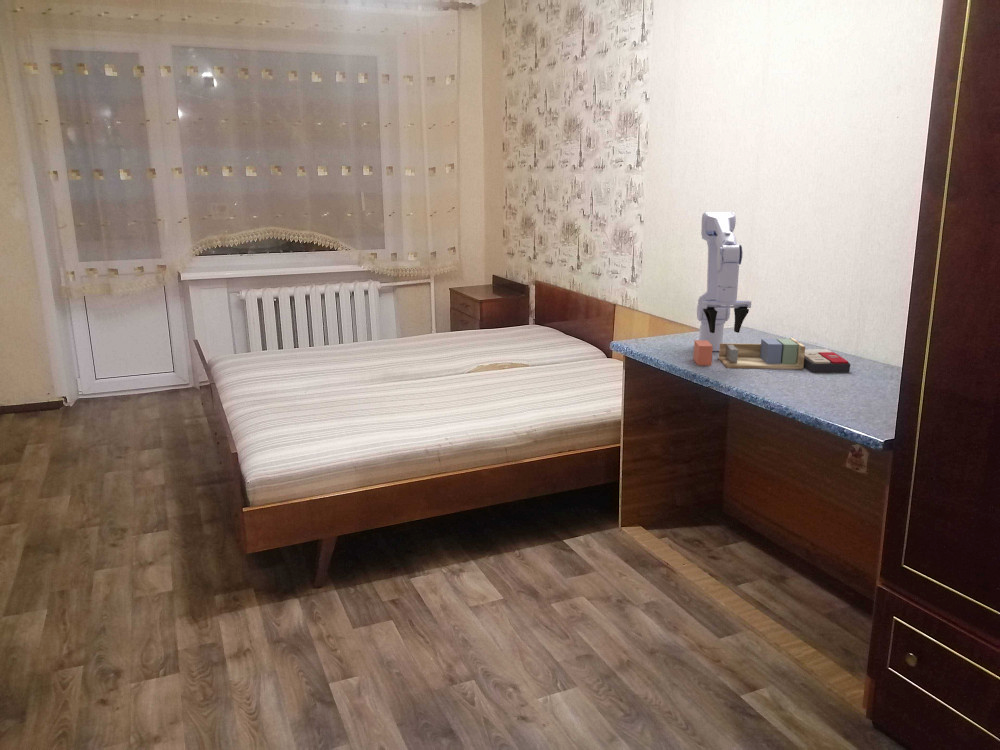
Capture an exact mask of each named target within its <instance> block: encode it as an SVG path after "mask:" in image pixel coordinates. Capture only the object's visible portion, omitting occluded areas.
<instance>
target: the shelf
mask: <svg viewBox="0 0 1000 750" xmlns="http://www.w3.org/2000/svg"><path fill="white" fill-rule="evenodd" d="M789 339H791V340H792V341H794V342H795V343H796V344H798V349H797V359H796V364H766V363H765V362H764V361H763V360H762V359H761V358H760V350H761V343H734V342H733V343H732V342H731V343H728V342H727V343H726V342H723V343H720V349H719V351H718V352H719V353H718V359H719V360H720V361H721V363H722V364H723V365H724V366H725V368H726V369H765V370H766V369H773V370H774V369H775V370H777V369H778V370H786V369H787V370H804V367H803V366H804V356H805V349H806V346H805V345H804V344H803V343H801V342H800V341H798V340H797V339H796V338H795V337H790V338H789ZM726 345H734V346H735V347H736V348H737V349H738V357H737V363H730V362H729V361H728V360H727V359H726V358H725V354H726Z"/></svg>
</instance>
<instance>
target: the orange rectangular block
mask: <svg viewBox="0 0 1000 750" xmlns="http://www.w3.org/2000/svg"><path fill="white" fill-rule="evenodd" d="M712 349H713V346H712V345H711V344H710V343H709V341H708V340H699V339H697V340H696V339H695V340H694V341H693V357H692V358H693V361H694V362H695V364H696V365H697V366H712V362H713V361H712V360H713V351H712Z"/></svg>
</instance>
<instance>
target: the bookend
mask: <svg viewBox="0 0 1000 750" xmlns="http://www.w3.org/2000/svg"><path fill="white" fill-rule="evenodd" d="M737 357H738V349H737V348H736V347H735V346H734V345H726V354H725V358H726V359H727V360H728V361H729V362H730V363H737Z"/></svg>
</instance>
